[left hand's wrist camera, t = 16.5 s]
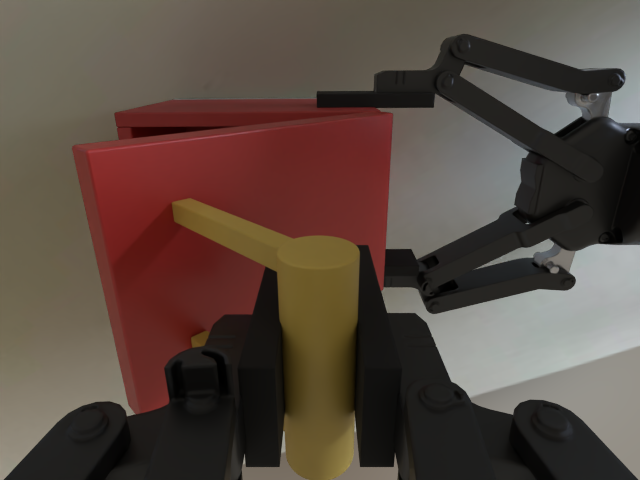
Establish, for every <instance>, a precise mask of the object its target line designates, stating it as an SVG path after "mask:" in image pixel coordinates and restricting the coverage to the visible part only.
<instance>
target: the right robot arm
mask: <svg viewBox="0 0 640 480" xmlns="http://www.w3.org/2000/svg"><path fill="white" fill-rule="evenodd" d="M464 65H468V66H471V67H474V68H478V69H481V70H484V71H487V72H491V73H494V74H497V75H500V76H504V77H507V78H510V79H514V80H517V81H520V82H523V83H527V84H530V85H533V86H536V87H540V88H543V89H547V90H551V91H558V92H567V93H566V98H567V101H568V103H569V104H570V105H572V106H577V107H579V108H580V109H581V111H582V117H580V118H578V119H576V120H575V121H573V122H572V123H570V124H569V125H567V126H566V127H564V128H563V129H561V130H560V131H558V132H556V133H555V134H553V133H551V132H549V131H547V130H545V129H543V128H541V127H539V126H538V125H536V124H535V123H533V122H531V121H530V120H528V119H527V118H525V117H524V116H522V115H520V114H519V113H517V112H516V111H514V110H513V109H511V108H509V107H508V106H506V105H505V104H503V103H502V102H500V101H498V100H497V99H495V98H494V97H492V96H490V95H489V94H487V93H486V92H484V91H483V90H481V89H479V88H478V87H476V86H475V85H473V84H472V83H470V82H468V81H467V80H465V79H464V78H462V77H461V76H459V75H460V73H461V71H462V69H463V66H464ZM625 80H626V75H625V73H624V71H623V70H621V69H617V68H589V69H577V68H573V67H570V66H567V65H564V64H561V63H557V62H554V61H551V60H548V59H545V58H542V57H538V56H535V55H532V54H529V53H526V52H522V51H519V50H516V49H513V48H510V47H506V46H503V45H500V44H497V43H494V42H490V41H487V40H484V39H481V38H478V37H474V36H471V35H468V34H462V35H457V36H453V37H449V38H446V39H445V40H444V41H443V43H442V44H441V48H440V54H439V56H438V58H437V61H436V63H435V64H434V65H433V66H432V67H431V68H430V69H427V70H415V71H381V72H379V73H376V74H374V91H317V108H351V107H375V108H434V98H435V93H436V94H437V95H439V96H440V97H442V98H444V99H445V100H447V101H448V102H450V103H452V104H453V105H455V106H457V107H458V108H460V109H461V110H463V111H465V112H466V113H468V114H469V115H471V116H473V117H474V118H476V119H478V120H479V121H481V122H482V123H484V124H486V125H487V126H489V127H490V128H492V129H494V130H495V131H497V132H499V133H500V134H502V135H503V136H505V137H507V138H508V139H510V140H511V141H512V142H514V143H515V144H517V145H518V146H520V147H522V148H523V149H525V150H526V151H528V152H529V154H528V155H527V157H526V158H522V163H521V169H520V172H521V184H520V186H519V189H518V191H517V193H516V198H515V204H514V205H516V206H517V207H515V208H513V209H511V210H509V211H507V212H505V213H503V214H501V215H500V217H499V219H498V220H496V221H494V222H492V223H490V224H488V225H486V226H484V227H482V228H480V229H478V230H476V231H474V232H472V233H470V234H468V235H466V236H464V237H462V238H460V239H458V240H456V241H454V242H452V243H450V244H448V245H446V246H444V247H442V248H440V249H438V250H436V251H433V252H431V253H429V254H427V255H425V256H423V257H421V258H419V259H417V260H416V258H415V256H414V254H413V252H412V250H411V249H385V266H384V284H383V287H414V288H416V289H418V291H419V293H420V296H421V298H422V300H423V303H424V305H425V307H426V309H427V311H428V312H429V313H432V314H437V313H441V312H445V311H449V310H453V309H458V308H462V307H466V306H470V305H474V304H478V303H483V302H487V301H491V300H495V299H499V298H503V297H508V296H512V295H516V294H520V293H524V292H528V291H533V290H537V289H548V290H569V289H571V288H572V287H573V286H574V285H575V282H576V279H575V277H574V276H573V275H572V274H570V273H569V270H570V267H571V264H572V261H573V257H574V254H575V251H578V250H581V249H583V248H585V247H588V246H590V245H594V244H610V245H640V123H617V122H615V121H614V120H612V119H611V118H608V113H609V107H610V101H611V95H612V92H614V91H617V90H618V89H620V88H621V87H622V86H623V84H624V82H625ZM526 223H529V224H526ZM546 239H550V240H551V241H553V242H554V246H553V247H552V248H551V249H550V250H549V251H546V252H536V253H535V254H534V255H533V258H521V259H516V260H511V261H507V262H503V263H499V264H495V265H491V266H487V267H483V268H479V269H476V268H478V267H480V266H482V265H484V264H486V263H488V262H490V261H492V260H494V259H497V258H499V257H501V256H503V255H505V254H507V253H509V252H511V251H513V250H515V249H517V248H521V247H524V248H527V247H531V246H534V245H536V244H538V243H540V242H542V241H544V240H546ZM474 269H475V270H474Z"/></svg>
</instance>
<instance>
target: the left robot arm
mask: <svg viewBox="0 0 640 480" xmlns="http://www.w3.org/2000/svg"><path fill="white" fill-rule="evenodd" d="M356 246H357V247H358V249H359V251H360V263H359V294H358V322H357V351H356V379H355V408H354V411H355V421H356V431H357V440H358V451H359V460H360V467H394V457H395V454H396V459H397V464H398V480H638V479H637V478H636V477H635V476H634V475H633V474H632V473H631V472H630V471H629V470H628V468H627V467H626V466H625V465H624V464H623V463H622V462H621V461H620V460H619V459H618V458H617V457H616V456H615V455H614V454H613V452H612V451H611V450H610V449H609V448H608V447H607V446H606V445H605V444H604V443H603V442H602V441H601V440H600V439H599V438H598V437H597V435H596V434H595V433H594V432H593V431H592V430H591V429H590V428H589V427H588V426H587V425H586V424H585V423H584V422H583V421H582V420H581V419H580V418H579V417H578V416H576V415H575V414H574V413H573V412H571V411H570V410H568V409H566V408H564V407H562V406H560V405H558V404H555V403H551V402H548V401H544V400H528V401H525V402H521V403H520V404H519V405H518V406H517V407H516V408H515V409H514V413H513V415H511V414H507V413H503V412H499V411H494V410H490V409H487V408H484V407H481V406H478V405H476V404H474V403H472V402H471V400H470V398H469V397H468V395H467V393H466V392H465V391H464V390H463V389H462V388H460V387H459V386H458V385H457V384H455V383H453V382H451V380H450V378H449V375H448V373H447V370H446V368H445V366H444V363H443V361H442V359H441V356H440V354H439V351H438V349H437V347H436V344H435V342H434V339H433V337H432V335H431V332H430V330H429V328H428V325H427V323H426V322H425V321H424V320H422V319H421V318H420V317H419V316H418V315H417V314H416V313H387V311H386V308H385V304H384V300H383V297H382V293H381V289H380V286H379V282H378V278H377V275H376V271H375V267H374V264H373V260H372V257H371V253H370V249H369V246H368V245H356ZM164 371H165V377H166V383H167V389H168V395H169V403H168V404H167V405H165V406H163V407H161V408H158V409H155V410H152V411H148V412H144V413H140V414H136V415H131V416H126V411H125V410H124V409H123V408H122V407H121V405H120V404H116V403H113V402H110V401H109V402H95V403H91V404H88V405H84V406H81V407H79V408H78V409H76V410H74V411H72V412H70V413H68V414H67V415H66V416H65V417H63V418H62V419H61V420H60V421H59V422H57V423H56V425H55V426H54V427H53V428H52V429H51V430H50V431H49V432H48V433H47V434H46V435H45V436H44V437H43V438H42V440H41V441H40V442H39V443H38V444H37V445H36V446H35V447H34V448H33V449H32V450H31V451H30V452H29V453H28V455H27V456H26V457H25V458H24V459H23V460H22V461H21V462H20V463H19V464H18V465H17V466H16V467H15V468H14V469H13V471H12V472H11V473H10V474H9V475H8V476H7V477H6V478H5V479H4V480H242V464H243V459H244V454H245V461H246V467H279V466H280V457H281V447H282V437H283V427H284V417H285V401H284V377H283V353H282V329H281V323H280V319H279V300H278V280H277V272H276V271H274V270H272V269H270V268H268V267H266V266H265V270H264V274H263V277H262V281H261V284H260V288H259V292H258V295H257V299H256V303H255V306H254V310H253V314H225V315H223V316H222V317H221V318H220V319H219V320H218V321H217V322H215V323H214V324H213V326H212V328H211V331H210V333H209V336H208V339H207V340H206V343H205V345H204V346H200V347H194V348H190V349H187V350H185V351H182V352H180V353H178V354H177V355H175V356H174V357H172V358H171V359H170V360H169V361H168V363H167V364H166V365H165V367H164Z"/></svg>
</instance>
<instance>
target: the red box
mask: <svg viewBox="0 0 640 480" xmlns="http://www.w3.org/2000/svg"><path fill="white" fill-rule="evenodd" d="M373 111H374V112H381V111H380V110H378V109H377V108H375V107H351V108H317V98H212V99H172V100H169V101H165V102H161V103H156V104H152V105H147V106H143V107H138V108H134V109H129V110H125V111H120V112H116V113H115V120H116V125H117V127H118V128H117V131H118V137H119V140H123V139H132V138H141V137H150V136H159V135H168V134H177V133H186V132H195V131H204V130H212V129H221V128H230V127H239V126H248V125H257V124H266V123H275V122H284V121H293V120H301V119H310V118H319V117H328V116H337V115H346V114H355V113H364V112H373Z"/></svg>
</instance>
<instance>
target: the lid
mask: <svg viewBox="0 0 640 480" xmlns="http://www.w3.org/2000/svg"><path fill="white" fill-rule="evenodd" d="M392 123H393V114H392V113H387V112H374V111H373V112H364V113H355V114H346V115H337V116H328V117H319V118H310V119H301V120H293V121H284V122H275V123H266V124H257V125H248V126H239V127H230V128H221V129H212V130H204V131H195V132H186V133H177V134H168V135H159V136H150V137H141V138H132V139H123V140H114V141H106V142H97V143H88V144H79V145H74V146H72V151H73V155H74V160H75V164H76V169H77V173H78V178H79V182H80V187H81V192H82V196H83V201H84V205H85V210H86V214H87V219H88V223H89V228H90V232H91V237H92V241H93V246H94V250H95V255H96V259H97V264H98V268H99V273H100V277H101V282H102V286H103V291H104V296H105V300H106V305H107V309H108V314H109V318H110V323H111V327H112V332H113V336H114V341H115V345H116V350H117V354H118V359H119V363H120V368H121V372H122V377H123V381H124V386H125V391H126V395H127V400H128V404H129V406H130V407H131V409H132V410H133V411H134V413H135V414H140V413H144V412H148V411H152V410H155V409H158V408H161V407H163V406H165V405H167V404H168V403H169V395H168V389H167V383H166V377H165V371H164V367H165V365H166V364H167V363H168V361H169V360H170V359H171V358H172V357H174V356H175V355H177V354H178V353H180V352H182V351H185V350H187V349H190V348H194V347H200V346H204V345H205V343H206V340H207V339H208V336H209V333H210V331H211V328H212V326H213V324H214V323H215V322H217V321H218V320H219V319H220V318H221V317H222V316H223V315H225V314H253V310H254V306H255V303H256V299H257V295H258V292H259V288H260V284H261V281H262V277H263V274H264V270H265V266H266V267H268V268H270V269H272V270H274V271H276V272H277V280H278V300H279V319H280V323H281V329H282V353H283V377H284V401H285V417H284V427H283V430H284V431H285V445H286V458H287V461H288V463H289V465H290V466H291V468H292V469H293V470H294V471H295V472H296V473H297V474H298V475H300V476H301V477H303V478H305V479H309V480H330V479H334V478H336V477H338V476H339V475H341V474H342V473H344V472H345V471H346V470H347V468H348V467H349V466H350V464H351V462H352V459H353V454H354V422H355V411H354V408H355V379H356V351H357V322H358V294H359V263H360V251H359V249H358V247H357V246H356V245H368V246H369V249H370V253H371V257H372V260H373V264H374V267H375V271H376V275H377V278H378V282H379V286H380V289H381V291H382V290H383V284H384V266H385V248H386V231H387V213H388V195H389V177H390V159H391V141H392Z"/></svg>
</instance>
